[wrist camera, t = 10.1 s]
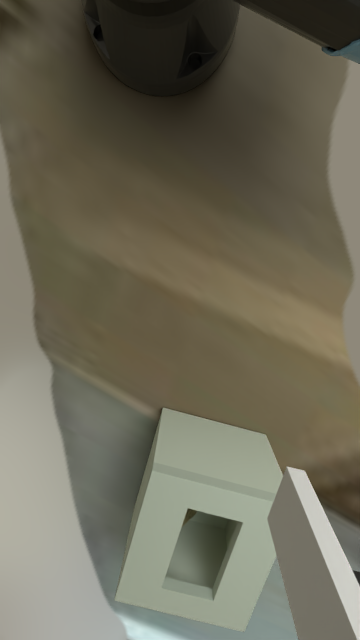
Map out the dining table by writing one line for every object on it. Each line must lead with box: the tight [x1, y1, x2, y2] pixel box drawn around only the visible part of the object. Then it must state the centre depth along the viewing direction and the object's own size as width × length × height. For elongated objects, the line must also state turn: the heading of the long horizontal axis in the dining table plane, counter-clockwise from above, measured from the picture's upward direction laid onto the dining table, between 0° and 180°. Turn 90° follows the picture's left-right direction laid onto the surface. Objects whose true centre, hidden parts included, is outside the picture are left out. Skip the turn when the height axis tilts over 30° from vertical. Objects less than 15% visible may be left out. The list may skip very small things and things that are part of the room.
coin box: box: [115, 408, 283, 632], centre depth 37 cm, size 16×14×12 cm
